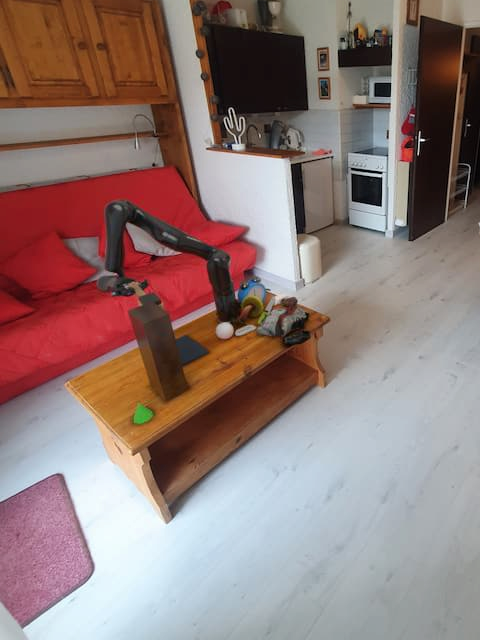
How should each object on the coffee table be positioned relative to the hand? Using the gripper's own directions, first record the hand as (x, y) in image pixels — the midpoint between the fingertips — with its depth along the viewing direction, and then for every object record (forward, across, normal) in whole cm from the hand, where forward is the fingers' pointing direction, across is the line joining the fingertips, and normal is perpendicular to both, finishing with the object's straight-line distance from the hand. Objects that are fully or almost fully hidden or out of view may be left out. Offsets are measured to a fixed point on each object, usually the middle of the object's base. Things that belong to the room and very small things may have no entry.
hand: (138, 289), depth 138 cm
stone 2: (-3, +64, +33) cm, 72 cm away
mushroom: (0, +34, +25) cm, 42 cm away
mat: (-6, +9, +31) cm, 33 cm away
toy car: (+24, +44, +36) cm, 61 cm away
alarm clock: (-16, +50, +29) cm, 60 cm away
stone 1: (+9, +49, +34) cm, 60 cm away
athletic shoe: (+14, +47, +27) cm, 56 cm away
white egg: (+3, +25, +29) cm, 38 cm away
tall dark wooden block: (+10, -5, +36) cm, 37 cm away
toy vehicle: (-8, +62, +30) cm, 70 cm away
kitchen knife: (-3, +52, +31) cm, 60 cm away
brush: (+2, 0, +4) cm, 4 cm away
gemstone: (+17, -16, +38) cm, 45 cm away
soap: (0, +35, +31) cm, 47 cm away
